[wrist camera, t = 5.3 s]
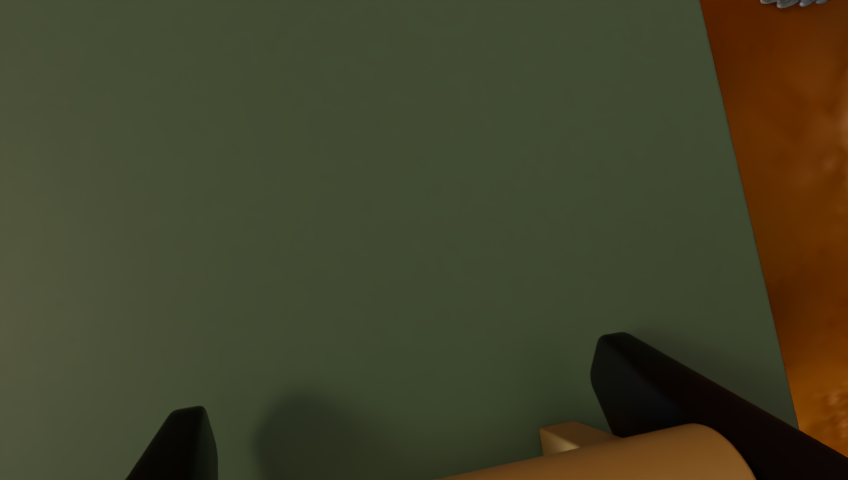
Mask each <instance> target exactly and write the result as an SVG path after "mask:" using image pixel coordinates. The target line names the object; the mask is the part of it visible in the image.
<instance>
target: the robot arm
mask: <svg viewBox="0 0 848 480" xmlns="http://www.w3.org/2000/svg"><path fill="white" fill-rule="evenodd" d="M590 379H591V384H592V387H593V390H594V392H595V394H596V397H597V399H598V401H599V404H600V406H601V408H602V411H603V413H604V416H605V418H606V420H607V423H608V425H609V427H610V430H611V432H612V434H613V435H615V436H618V437H621V438H626V437H630V436H635V435H639V434H644V433H648V432H653V431H657V430H662V429H667V428H671V427H676V426H680V425H685V424H691V423H695V424H701V425H704V426H707V427H710V428H712V429H714V430H715V431H717V432H718V433H720V434H721V435H722V436H724V437H725V438H726V439H727V440H728V441H729V442H730V443H731V444H732V445H733V446H734V447H735V448H736V449H737V451H738V452H739V453H740V454H741V456H742V457H743V458H744V460H745V461H746V463H747V464H748V466H749V468H750V469H751V471H752V472H753V474H754V476H755V478H756V480H848V458H847V457H846V456H844V455H842V454H840V453H839V452H837V451H835V450H833V449H832V448H830V447H828V446H826V445H825V444H823V443H821V442H819V441H817V440H816V439H814V438H812V437H810V436H809V435H807V434H805V433H803V432H802V431H800V430H798V429H796V428H795V427H793V426H791V425H789V424H788V423H786V422H784V421H782V420H781V419H779V418H777V417H775V416H773V415H772V414H770V413H768V412H766V411H765V410H763V409H761V408H759V407H758V406H756V405H754V404H752V403H751V402H749V401H747V400H745V399H744V398H742V397H740V396H738V395H737V394H735V393H733V392H731V391H729V390H728V389H726V388H724V387H722V386H721V385H719V384H717V383H715V382H714V381H712V380H710V379H708V378H707V377H705V376H703V375H701V374H700V373H698V372H696V371H694V370H693V369H691V368H689V367H687V366H685V365H684V364H682V363H680V362H678V361H677V360H675V359H673V358H671V357H670V356H668V355H666V354H664V353H663V352H661V351H659V350H657V349H656V348H654V347H652V346H650V345H649V344H647V343H645V342H643V341H641V340H640V339H638V338H636V337H634V336H633V335H631V334H629V333H626V332H616V333H611V334H605V335H602V336H601V337H600V338H599V339H598V341H597V345H596V349H595V353H594V357H593V362H592V366H591V370H590ZM125 480H218V455H217V447H216V442H215V438H214V435H213V432H212V428H211V425H210V421H209V418H208V414H207V411H206V409H205V408H204V407H203V406H194V407H188V408H182V409H177V410H174V411H173V412H171V413H170V414H169V415H168V417H167V418H166V420H165V421H164V423H163V424H162V426H161V427H160V429H159V430H158V432H157V433H156V435H155V436H154V438H153V439H152V441H151V442H150V444H149V445H148V447H147V448H146V449H145V451H144V452H143V454H142V455H141V457H140V458H139V460H138V461H137V463H136V464H135V466H134V467H133V469H132V470H131V472H130V473H129V475H128V476H127V478H126V479H125Z"/></svg>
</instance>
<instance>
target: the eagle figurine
mask: <svg viewBox="0 0 848 480" xmlns="http://www.w3.org/2000/svg"><path fill="white" fill-rule="evenodd" d="M798 1H800V0H760V2H761V3H763V4H769V3H772V2H777V7H779V8H785V7H788V6H791V5H793V4H795V3H796V2H798ZM814 1H816V3H818V4H823V3H825V2H827V1H829V0H801V2H800V4H799V5H800V6H803V7H804V6H807V5H809V4H811V3H813V2H814Z"/></svg>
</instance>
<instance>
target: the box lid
mask: <svg viewBox="0 0 848 480" xmlns="http://www.w3.org/2000/svg"><path fill="white" fill-rule="evenodd" d="M616 332H626V333H629V334H631V335H633V336H634V337H636V338H638V339H640V340H641V341H643V342H645V343H647V344H649V345H650V346H652V347H654V348H656V349H657V350H659V351H661V352H663V353H664V354H666V355H668V356H670V357H671V358H673V359H675V360H677V361H678V362H680V363H682V364H684V365H685V366H687V367H689V368H691V369H693V370H694V371H696V372H698V373H700V374H701V375H703V376H705V377H707V378H708V379H710V380H712V381H714V382H715V383H717V384H719V385H721V386H722V387H724V388H726V389H728V390H729V391H731V392H733V393H735V394H737V395H738V396H740V397H742V398H744V399H745V400H747V401H749V402H751V403H752V404H754V405H756V406H758V407H759V408H761V409H763V410H765V411H766V412H768V413H770V414H772V415H773V416H775V417H777V418H779V419H781V420H782V421H784V422H786V423H788V424H789V425H791V426H793V427H795V428H796V429H798V430H799V427H798V423H797V418H796V414H795V410H794V405H793V401H792V397H791V392H790V388H789V384H788V379H787V375H786V371H785V366H784V362H783V358H782V354H781V349H780V345H779V341H778V336H777V332H776V328H775V323H774V319H773V315H772V310H771V306H770V302H769V297H768V293H767V289H766V284H765V280H764V276H763V272H762V267H761V263H760V259H759V254H758V250H757V246H756V241H755V237H754V233H753V228H752V224H751V220H750V215H749V211H748V207H747V203H746V198H745V194H744V190H743V185H742V181H741V177H740V172H739V168H738V164H737V159H736V155H735V151H734V146H733V142H732V138H731V134H730V129H729V125H728V121H727V116H726V112H725V108H724V103H723V99H722V95H721V90H720V86H719V82H718V77H717V73H716V69H715V64H714V60H713V56H712V52H711V47H710V43H709V39H708V34H707V30H706V26H705V21H704V17H703V13H702V8H701V4H700V0H0V480H125V479H126V478H127V476H128V475H129V473H130V472H131V470H132V469H133V467H134V466H135V464H136V463H137V461H138V460H139V458H140V457H141V455H142V454H143V452H144V451H145V449H146V448H147V447H148V445H149V444H150V442H151V441H152V439H153V438H154V436H155V435H156V433H157V432H158V430H159V429H160V427H161V426H162V424H163V423H164V421H165V420H166V418H167V417H168V415H169V414H170V413H171V412H173V411H174V410H177V409H182V408H188V407H194V406H203V407H204V408H205V409H206V411H207V414H208V418H209V421H210V425H211V428H212V432H213V435H214V438H215V442H216V447H217V455H218V480H756V478H755V476H754V474H753V472H752V471H751V469H750V468H749V466H748V464H747V463H746V461H745V460H744V458H743V457H742V456H741V454H740V453H739V452H738V451H737V449H736V448H735V447H734V446H733V445H732V444H731V443H730V442H729V441H728V440H727V439H726V438H725V437H724V436H722V435H721V434H720V433H718V432H717V431H715V430H714V429H712V428H710V427H707V426H704V425H701V424H695V423H691V424H685V425H680V426H676V427H671V428H667V429H662V430H657V431H653V432H648V433H644V434H639V435H635V436H630V437H626V438H621V437H618V436H615V435H613V434H612V432H611V430H610V427H609V425H608V423H607V420H606V418H605V416H604V413H603V411H602V408H601V406H600V404H599V401H598V399H597V397H596V394H595V392H594V390H593V387H592V384H591V379H590V370H591V366H592V362H593V357H594V353H595V349H596V345H597V341H598V339H599V338H600V337H601V336H602V335H605V334H611V333H616Z"/></svg>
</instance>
